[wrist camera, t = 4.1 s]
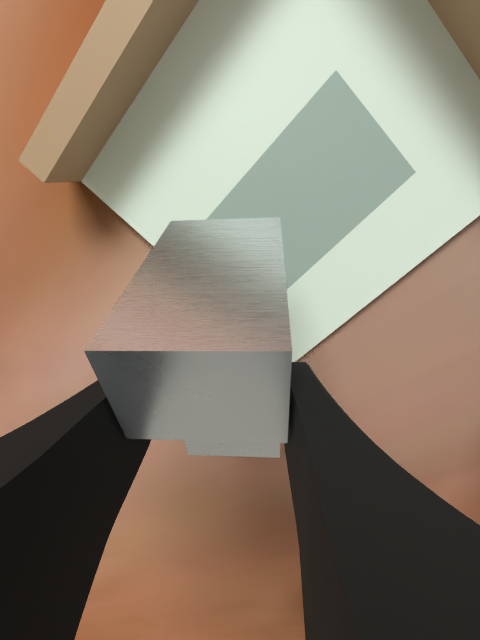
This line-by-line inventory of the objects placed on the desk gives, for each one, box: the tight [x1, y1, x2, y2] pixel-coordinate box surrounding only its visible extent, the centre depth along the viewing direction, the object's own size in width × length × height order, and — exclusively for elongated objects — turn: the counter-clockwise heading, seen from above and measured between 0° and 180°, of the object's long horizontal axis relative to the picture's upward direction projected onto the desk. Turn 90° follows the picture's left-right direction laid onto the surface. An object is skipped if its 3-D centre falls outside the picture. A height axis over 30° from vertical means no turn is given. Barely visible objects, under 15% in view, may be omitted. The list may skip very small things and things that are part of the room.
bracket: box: [84, 217, 292, 458], centre depth 11 cm, size 9×4×7 cm, turn 2°
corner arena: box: [18, 0, 480, 362], centre depth 14 cm, size 17×16×4 cm
